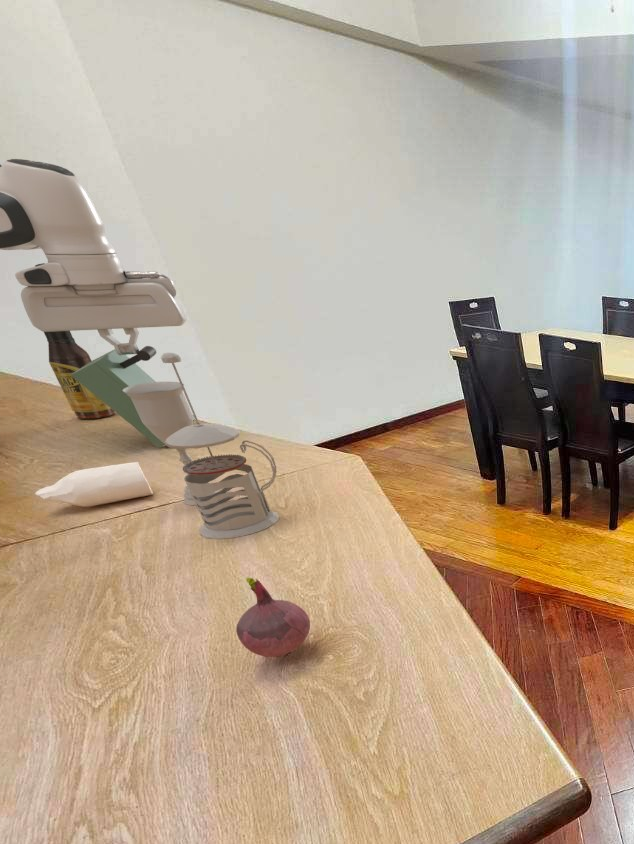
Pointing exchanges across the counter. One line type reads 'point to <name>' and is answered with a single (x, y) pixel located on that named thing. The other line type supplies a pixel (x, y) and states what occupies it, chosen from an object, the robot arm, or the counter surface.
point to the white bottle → (99, 485)
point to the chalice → (164, 414)
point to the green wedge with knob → (118, 384)
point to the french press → (222, 515)
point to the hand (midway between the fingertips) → (129, 354)
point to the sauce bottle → (66, 362)
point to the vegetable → (272, 625)
